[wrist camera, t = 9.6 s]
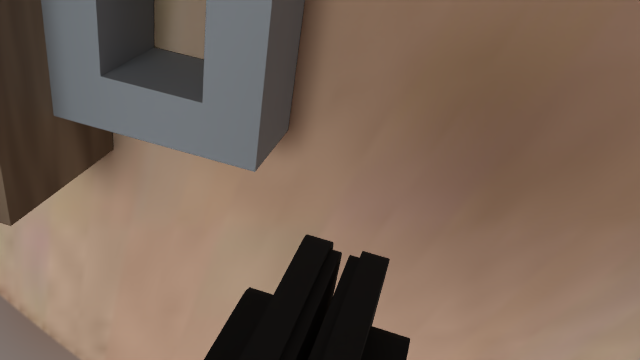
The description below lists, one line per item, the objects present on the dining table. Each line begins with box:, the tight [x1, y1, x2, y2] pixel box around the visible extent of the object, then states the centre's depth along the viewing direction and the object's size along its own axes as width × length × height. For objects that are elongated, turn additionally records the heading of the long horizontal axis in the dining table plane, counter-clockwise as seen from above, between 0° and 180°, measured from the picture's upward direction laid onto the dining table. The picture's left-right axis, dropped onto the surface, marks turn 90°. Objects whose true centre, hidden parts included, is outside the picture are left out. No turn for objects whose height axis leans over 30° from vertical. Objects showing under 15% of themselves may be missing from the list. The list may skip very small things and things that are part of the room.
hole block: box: [41, 0, 305, 172], centre depth 25 cm, size 10×10×4 cm
